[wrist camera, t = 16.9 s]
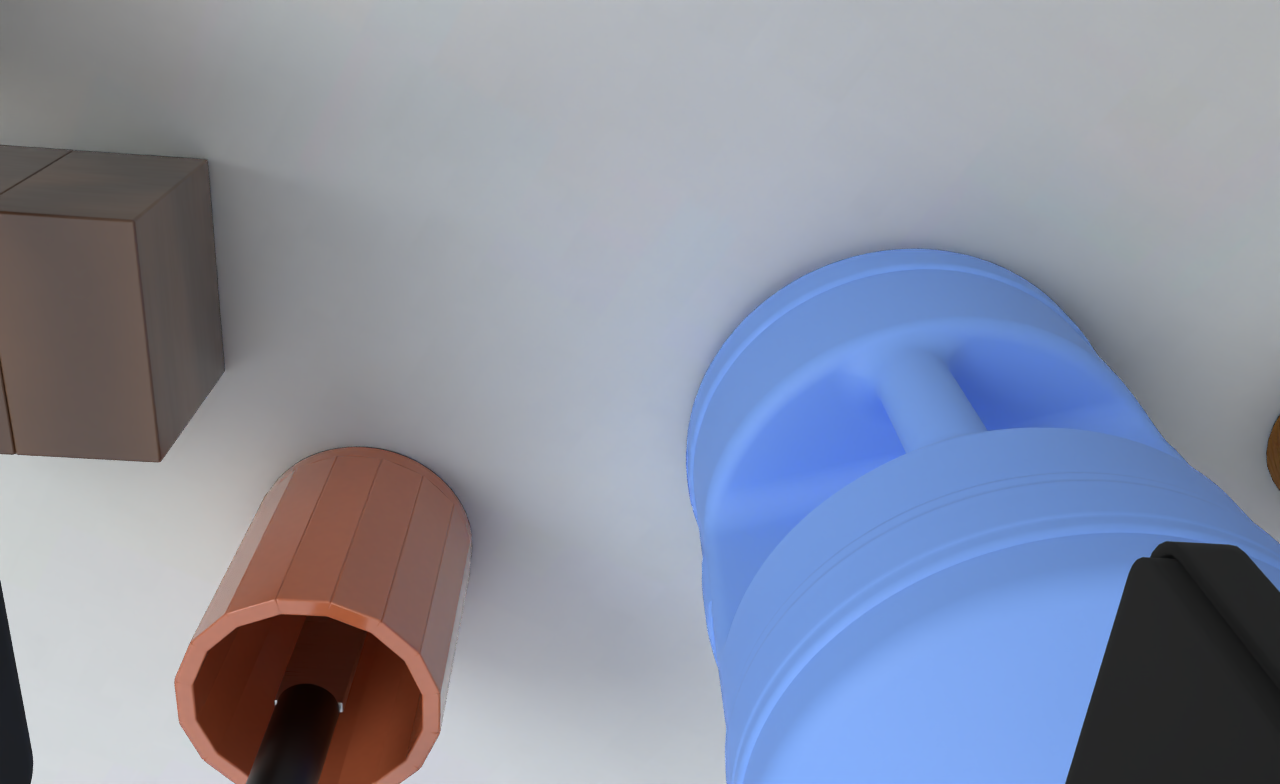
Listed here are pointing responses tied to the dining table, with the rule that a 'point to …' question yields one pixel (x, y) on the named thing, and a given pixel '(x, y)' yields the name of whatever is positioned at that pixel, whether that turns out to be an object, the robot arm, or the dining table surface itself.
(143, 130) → the dining table surface
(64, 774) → the dining table surface
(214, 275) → the knife block
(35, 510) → the dining table surface
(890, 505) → the water jug
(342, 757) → the cup
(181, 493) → the dining table surface
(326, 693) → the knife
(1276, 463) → the disposable coffee cup
